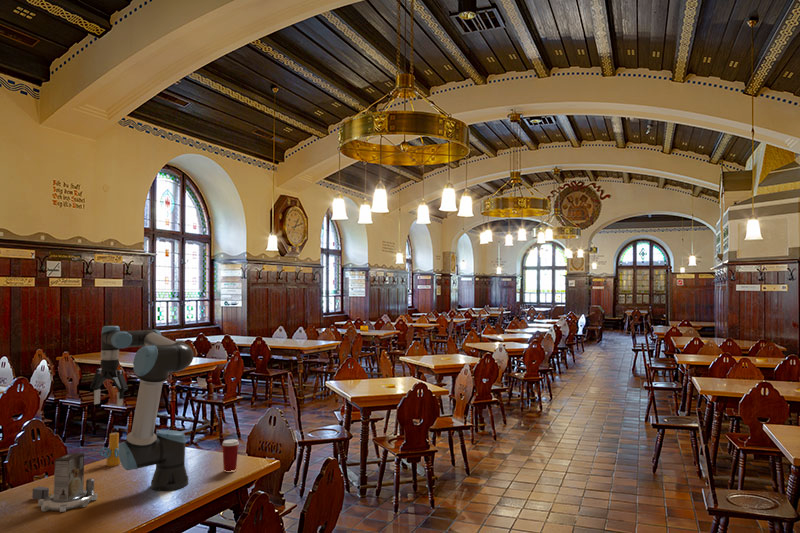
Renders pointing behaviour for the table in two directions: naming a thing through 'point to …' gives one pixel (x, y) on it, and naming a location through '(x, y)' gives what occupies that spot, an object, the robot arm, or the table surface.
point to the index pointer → (40, 493)
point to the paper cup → (230, 454)
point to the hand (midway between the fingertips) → (108, 404)
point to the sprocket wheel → (76, 502)
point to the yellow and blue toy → (112, 450)
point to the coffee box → (68, 476)
